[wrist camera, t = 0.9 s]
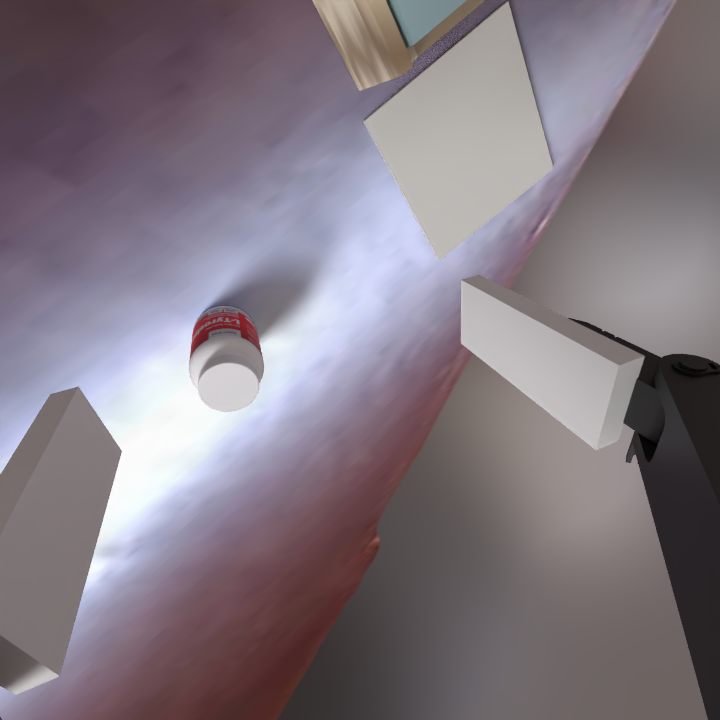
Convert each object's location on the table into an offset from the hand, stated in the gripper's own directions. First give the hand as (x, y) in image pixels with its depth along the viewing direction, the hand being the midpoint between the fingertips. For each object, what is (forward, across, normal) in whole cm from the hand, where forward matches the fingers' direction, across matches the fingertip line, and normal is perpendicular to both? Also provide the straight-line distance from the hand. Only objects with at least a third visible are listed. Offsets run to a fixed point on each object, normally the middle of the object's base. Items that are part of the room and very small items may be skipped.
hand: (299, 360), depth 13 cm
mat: (+26, +24, +3) cm, 36 cm away
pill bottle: (+27, -5, -10) cm, 29 cm away
